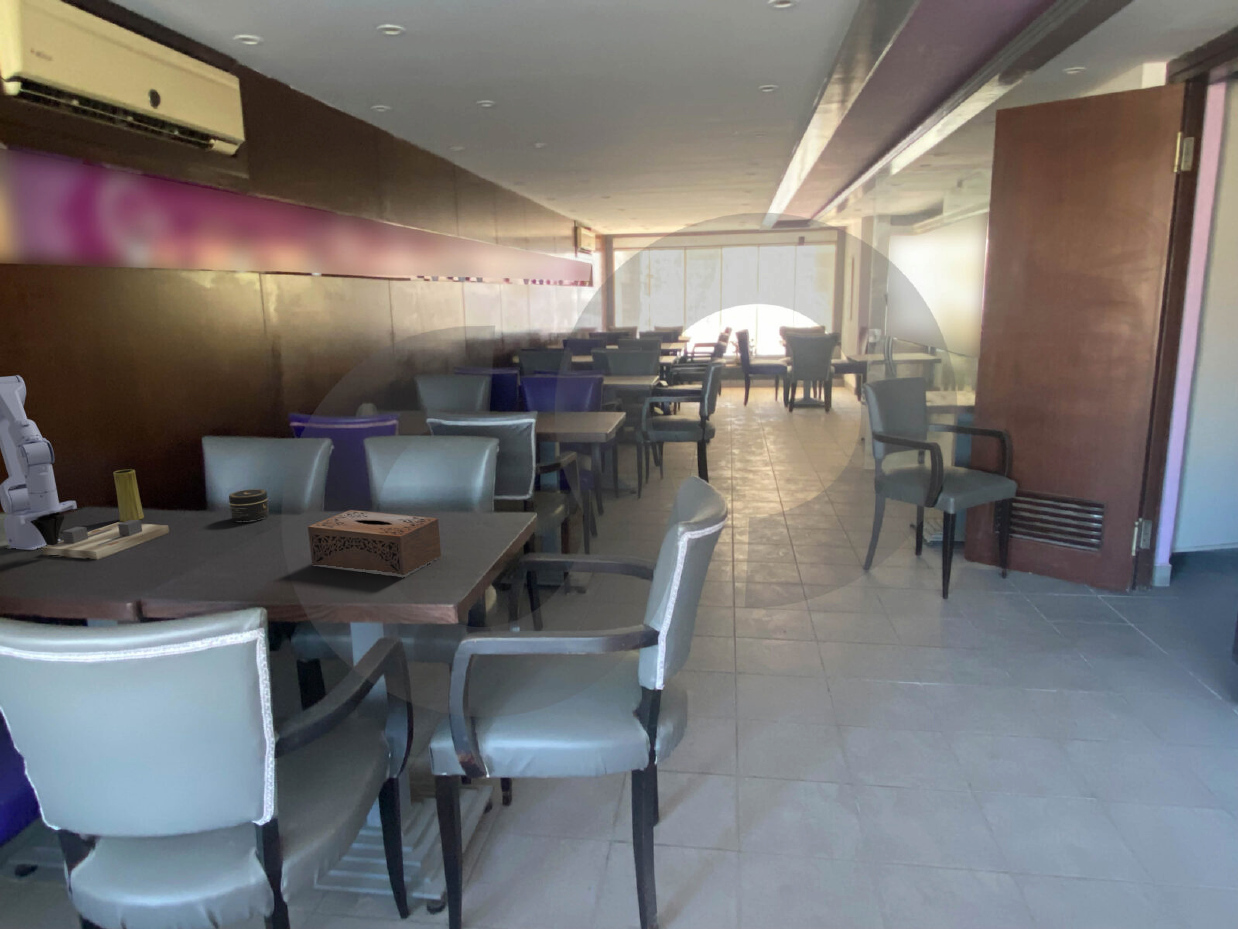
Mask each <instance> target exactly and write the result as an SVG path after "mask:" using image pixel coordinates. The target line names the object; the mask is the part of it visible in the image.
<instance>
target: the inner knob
mask: <svg viewBox="0 0 1238 929" xmlns="http://www.w3.org/2000/svg"><path fill="white" fill-rule="evenodd" d="M61 532H62V537H63V540H64V543H77V542H80V541H83V540H86V539H88V534H87V532H88V529H87V526H86V527H83V526H75V527H72V528H69V529H65V530H62V531H61Z"/></svg>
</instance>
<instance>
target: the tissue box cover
mask: <svg viewBox="0 0 1238 929" xmlns="http://www.w3.org/2000/svg"><path fill="white" fill-rule="evenodd" d="M439 525H440V524H439V518H436V517H425V516H417V515H416V516H415V515H405V514H394V513H384V512H375V511H373V512H372V511H363V510H354V509H349V510H346V511H344V512H341V513H339V514H337V515H334V516H331V517H328V518H326V519H324V520H322V521H321V520H320V521H318V522H316V523H313V524H311V525H308V526H307V531H308V533H307V534H308V540H309V549H310V555H311V565H327V566H336V567H343V568H354V569H362V570H363V569H365V570H377V571H382V572H392V573H397V574H401V575H405V574H407V573H408V572H411V571H413V570H414V569H416V568H419V567H420V566H422V565H425V564H426V563H428V562H430V561H433V560H434V559H435V558H438V557H440V556H441V557H442V551H441V550H442V549H441V540H440V538H441V537H440V527H439Z"/></svg>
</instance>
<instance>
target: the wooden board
mask: <svg viewBox="0 0 1238 929" xmlns="http://www.w3.org/2000/svg"><path fill="white" fill-rule="evenodd" d="M120 523H122V522H121V521H119V522H115V523H112V524H108V525H105V526H103V527H99V528H96V529H93V530H90V531H87V534H88V539H86V540H83V541H80V542H77V543H64V539H63V540H61V541H59V542H58V544H55V545H47V546H44V547H41V551H42V554H43V556H49V555H60V556H59V557H61V556H66V557H65V558H76V559H86V558H90V559H89V560H99V559H102V558H105V557H108V556H111V555H113V554H116V553H119V552H122V551H123V550H127V549H129V548H132V547H134V546H137V545H139V544H142V543H145V542H148V541H150V540H154V539H156V538H158V537H161V536H164V535H168V534H169V533H170V528H169V525H167V524H166V525H165V524H152V523H151V524H150V523H149V524H148V523H141V525H142V532H139V533H136V534H134V535H131V536H124V535H120V534H119V528H118V524H120Z"/></svg>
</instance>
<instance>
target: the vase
mask: <svg viewBox="0 0 1238 929" xmlns="http://www.w3.org/2000/svg"><path fill="white" fill-rule="evenodd" d="M113 478H114V484H115V491H116V497H117V498H116V499H117V506H118V512H119V522H121V523H123V522H126V521H129V520H142V519H144V518H145V515H144V512H143V507H142V502H141V498H140V493H139V492H140V491H139V487H138V482H137V481H138V480H137V476H136V470H135V469H132V468H130V469H129V468H128V469H121V470H120V469H119V470H116V471H113Z"/></svg>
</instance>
